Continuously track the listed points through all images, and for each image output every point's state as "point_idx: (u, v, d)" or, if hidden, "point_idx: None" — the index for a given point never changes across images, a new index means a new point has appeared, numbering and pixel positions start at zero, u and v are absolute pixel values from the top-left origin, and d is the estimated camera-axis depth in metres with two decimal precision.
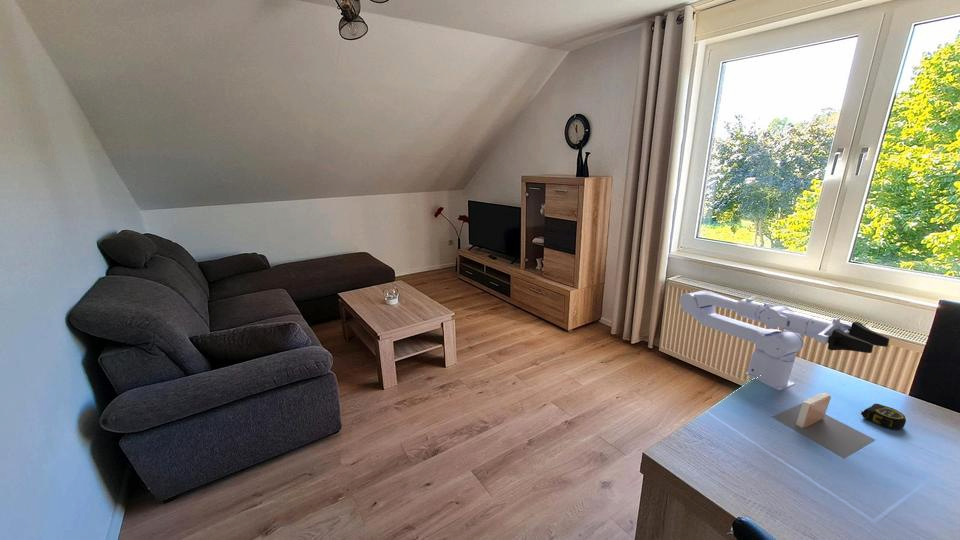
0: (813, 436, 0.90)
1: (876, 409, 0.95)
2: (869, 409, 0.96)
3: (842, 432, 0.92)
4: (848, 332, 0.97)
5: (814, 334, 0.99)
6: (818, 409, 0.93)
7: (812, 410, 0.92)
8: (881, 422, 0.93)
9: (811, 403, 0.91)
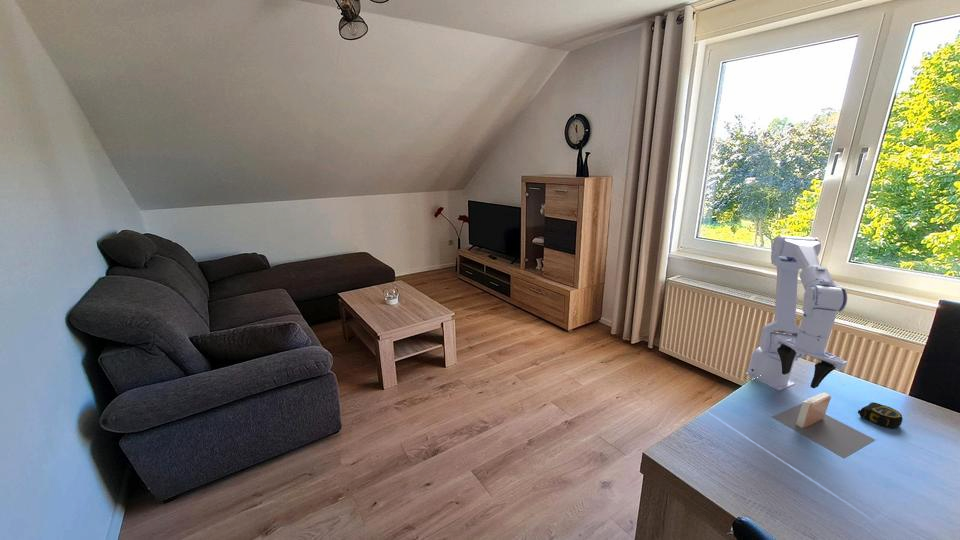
0: (813, 436, 0.90)
1: (873, 408, 0.96)
2: (866, 408, 0.96)
3: (842, 432, 0.92)
4: None
5: None
6: (818, 409, 0.93)
7: (812, 410, 0.92)
8: (878, 421, 0.94)
9: (811, 403, 0.91)
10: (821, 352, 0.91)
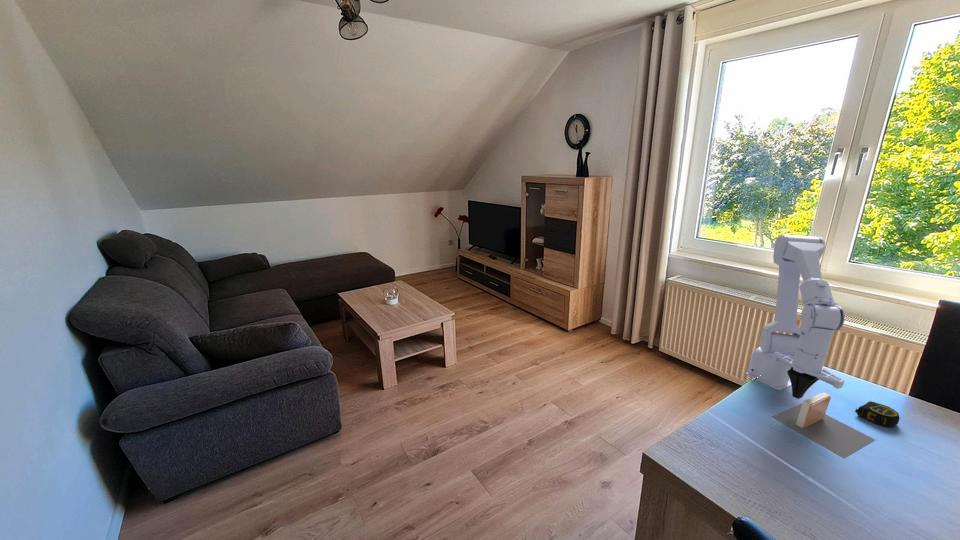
0: (813, 436, 0.90)
1: (870, 407, 0.96)
2: (863, 407, 0.96)
3: (842, 432, 0.92)
4: None
5: None
6: (818, 409, 0.93)
7: (812, 410, 0.92)
8: (875, 419, 0.94)
9: (811, 403, 0.91)
10: (818, 370, 0.92)
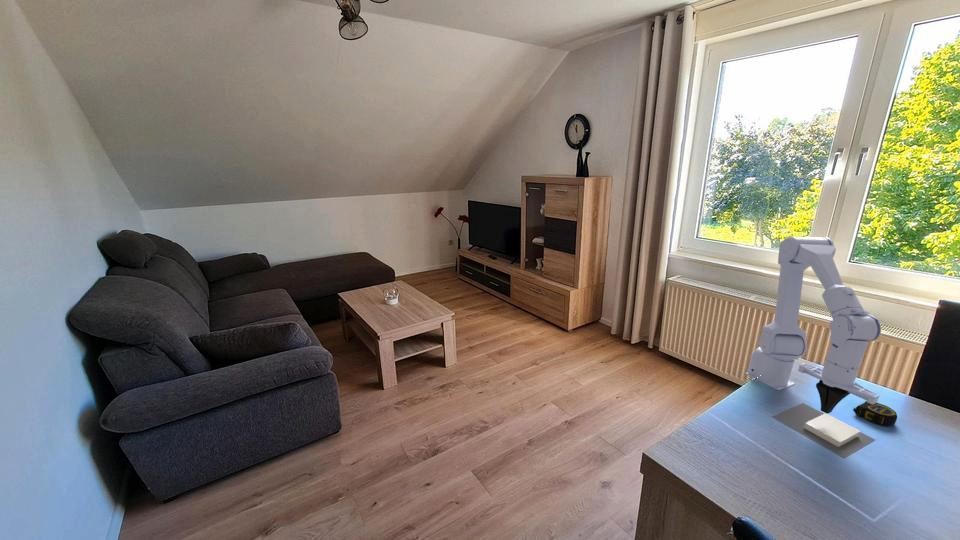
0: (813, 436, 0.90)
1: (868, 406, 0.97)
2: (861, 406, 0.97)
3: None
4: None
5: None
6: None
7: None
8: (873, 418, 0.95)
9: (840, 445, 0.87)
10: (851, 384, 0.86)
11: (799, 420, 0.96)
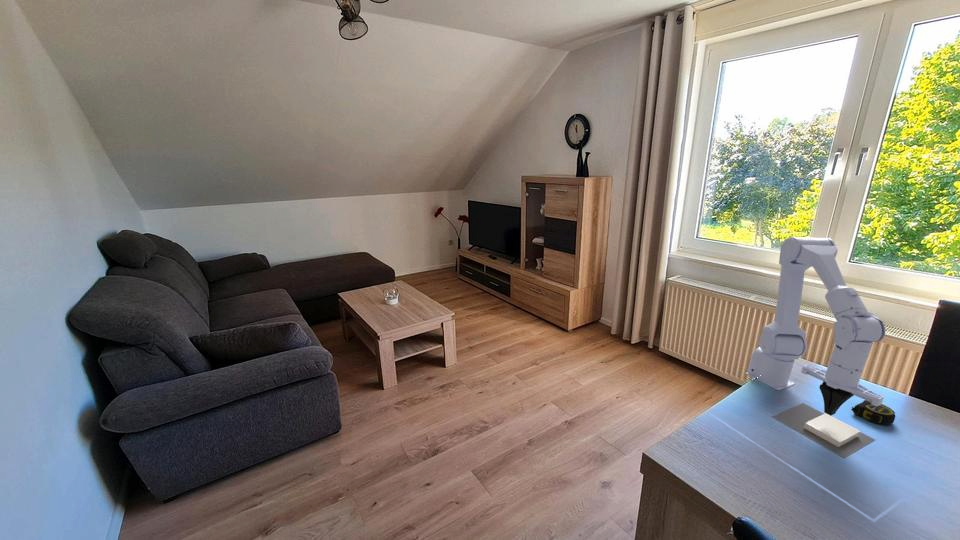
0: (813, 436, 0.90)
1: (866, 405, 0.97)
2: (859, 405, 0.97)
3: None
4: None
5: None
6: None
7: None
8: (871, 418, 0.95)
9: (840, 445, 0.87)
10: (854, 386, 0.86)
11: (799, 420, 0.96)
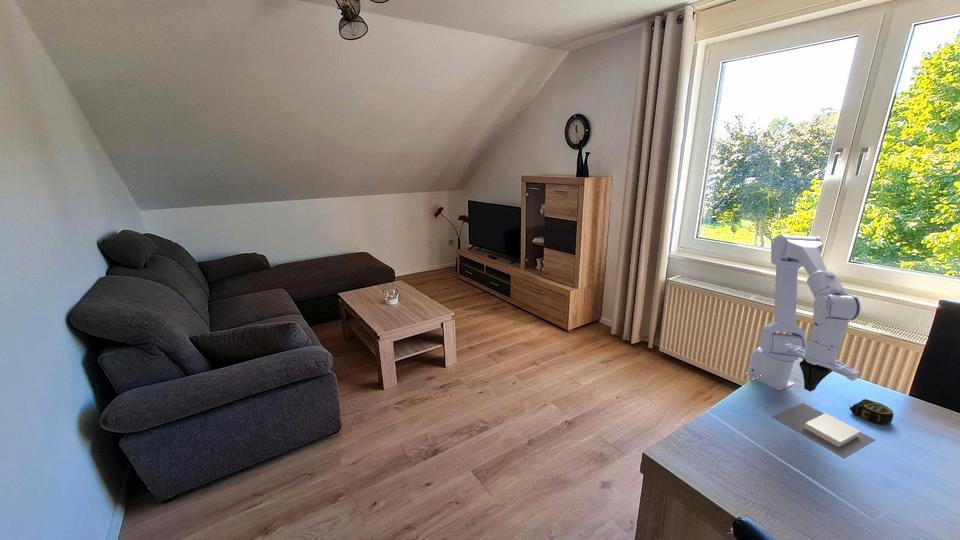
0: (813, 436, 0.90)
1: (864, 404, 0.97)
2: (858, 404, 0.97)
3: None
4: None
5: None
6: None
7: None
8: (869, 417, 0.95)
9: (840, 445, 0.87)
10: (832, 362, 0.89)
11: (799, 420, 0.96)
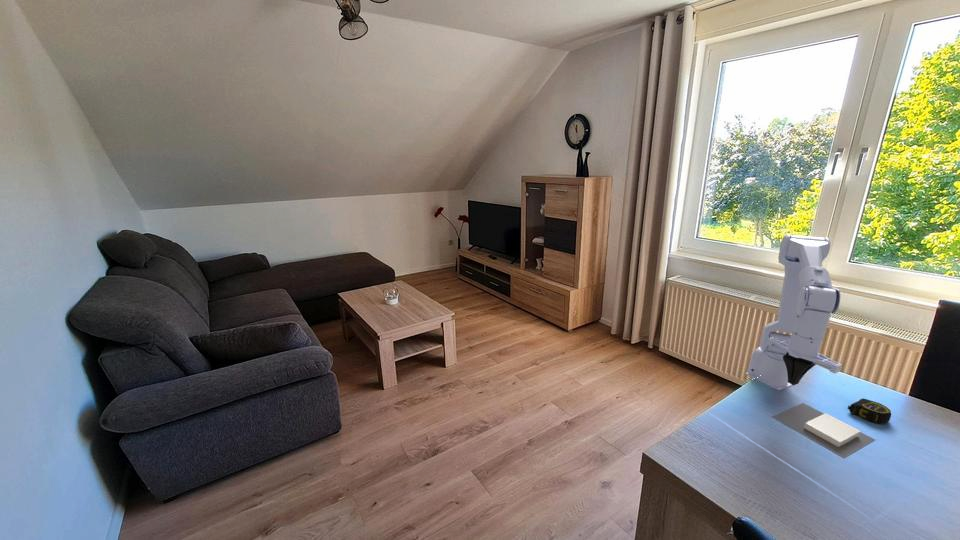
0: (813, 436, 0.90)
1: (862, 404, 0.97)
2: (855, 404, 0.98)
3: None
4: None
5: None
6: None
7: None
8: (867, 416, 0.95)
9: (840, 445, 0.87)
10: (815, 355, 0.89)
11: (799, 420, 0.96)
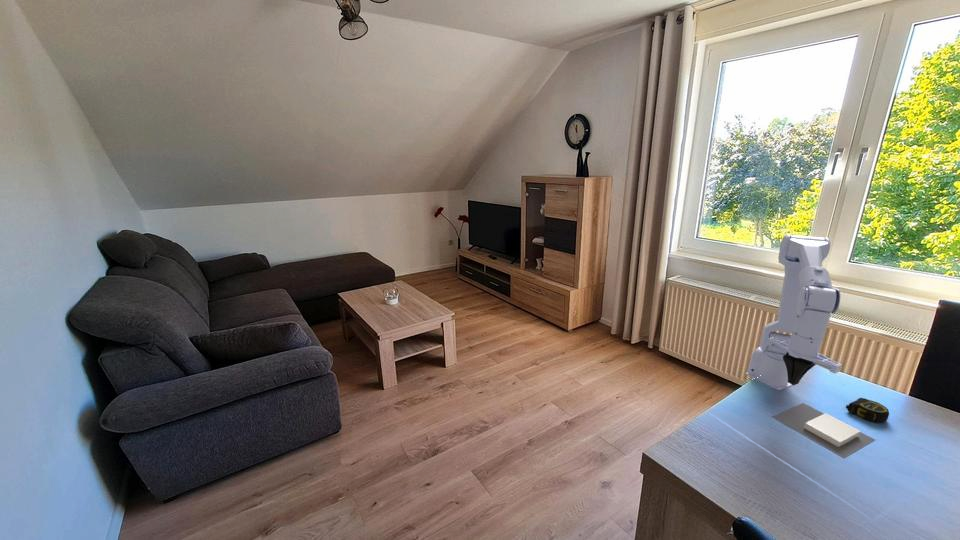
0: (813, 436, 0.90)
1: (860, 403, 0.98)
2: (854, 403, 0.98)
3: None
4: None
5: None
6: None
7: None
8: (865, 415, 0.96)
9: (840, 445, 0.87)
10: (815, 355, 0.89)
11: (799, 420, 0.96)
